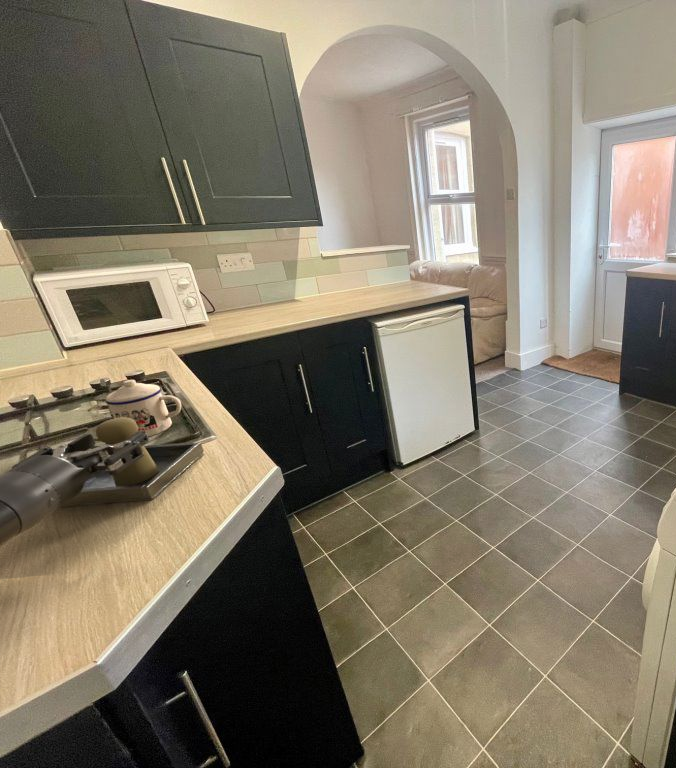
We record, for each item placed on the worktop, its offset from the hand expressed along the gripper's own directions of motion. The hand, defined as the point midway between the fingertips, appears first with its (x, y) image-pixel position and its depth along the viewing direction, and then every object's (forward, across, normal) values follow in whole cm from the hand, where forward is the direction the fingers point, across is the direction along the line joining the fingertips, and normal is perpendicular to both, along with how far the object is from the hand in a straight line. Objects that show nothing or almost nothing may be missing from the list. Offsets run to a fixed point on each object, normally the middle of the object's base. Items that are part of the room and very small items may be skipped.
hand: (118, 437), depth 71 cm
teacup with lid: (+20, +10, +9) cm, 24 cm away
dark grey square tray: (0, 0, +8) cm, 9 cm away
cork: (0, 0, +8) cm, 8 cm away
